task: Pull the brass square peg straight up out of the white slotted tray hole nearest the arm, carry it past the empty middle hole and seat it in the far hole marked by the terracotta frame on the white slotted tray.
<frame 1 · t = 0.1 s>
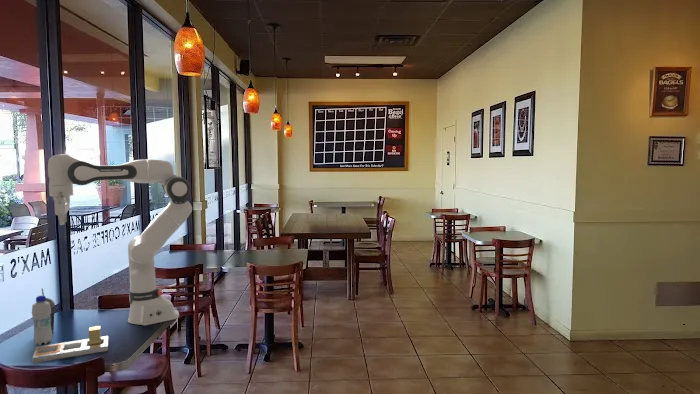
hand: (63, 223, 206), 48 cm above the table, tool pointing down, fingers open, 8 cm apart
brass peg: (95, 347, 191), resting in white slotted tray
bottle: (43, 343, 196), on the table
white slotted tray: (72, 351, 187), on the table
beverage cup: (47, 333, 206), on the table
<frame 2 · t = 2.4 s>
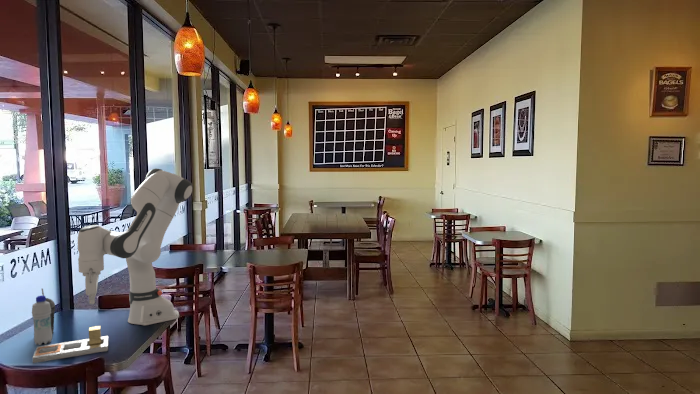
hand: (92, 300, 189), 19 cm above the table, tool pointing down, fingers open, 8 cm apart
nothing on the table moved.
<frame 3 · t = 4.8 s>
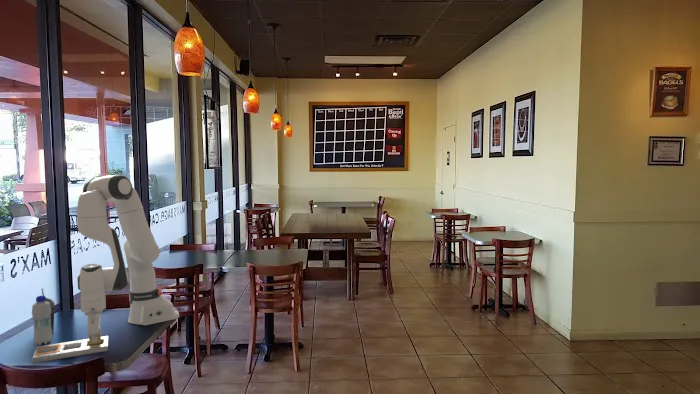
hand: (95, 338, 191), 4 cm above the table, tool pointing down, fingers closed on brass peg, 4 cm apart
brass peg: (95, 347, 191), resting in white slotted tray, touching gripper
everything else where it was.
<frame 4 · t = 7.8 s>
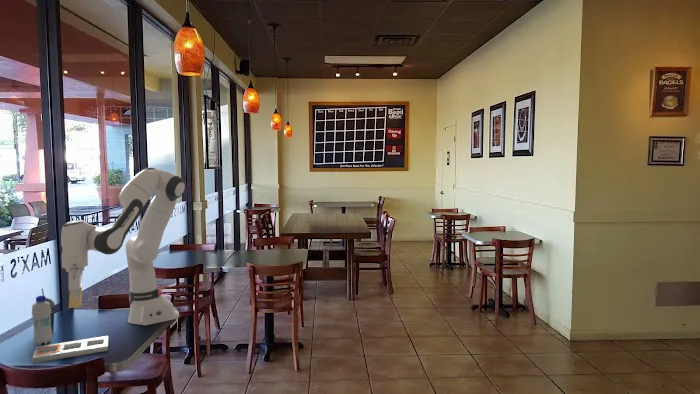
hand: (76, 296, 186), 22 cm above the table, tool pointing down, fingers closed on brass peg, 4 cm apart
brass peg: (74, 306, 186), point 18 cm above the table, tilted 6°, touching gripper
everything else where it was.
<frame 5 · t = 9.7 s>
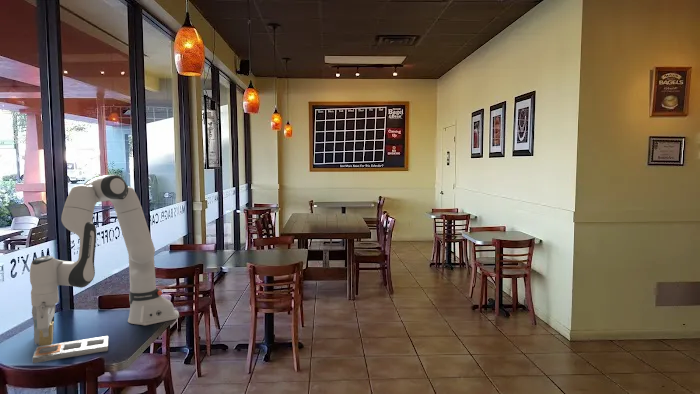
hand: (47, 333, 183), 8 cm above the table, tool pointing down, fingers closed on brass peg, 4 cm apart
brass peg: (46, 343, 183), point 5 cm above the table, touching gripper
everything else where it was.
when the fingers open (5 cm above the table, at t = 11.2 s): brass peg stays where it is, resting in white slotted tray.
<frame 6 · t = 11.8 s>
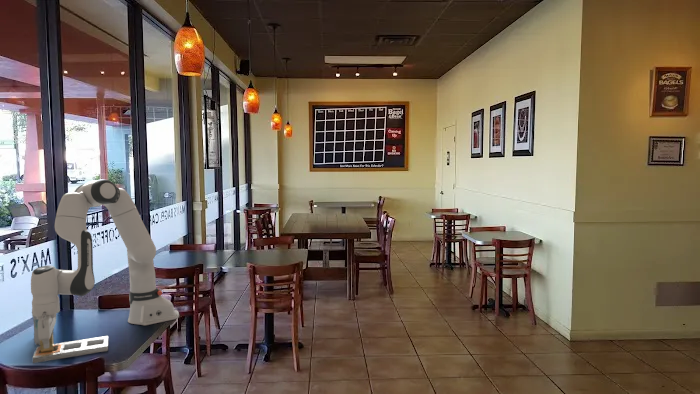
hand: (48, 343, 184), 5 cm above the table, tool pointing down, fingers open, 8 cm apart
brass peg: (47, 355, 184), resting in white slotted tray
everything else where it was.
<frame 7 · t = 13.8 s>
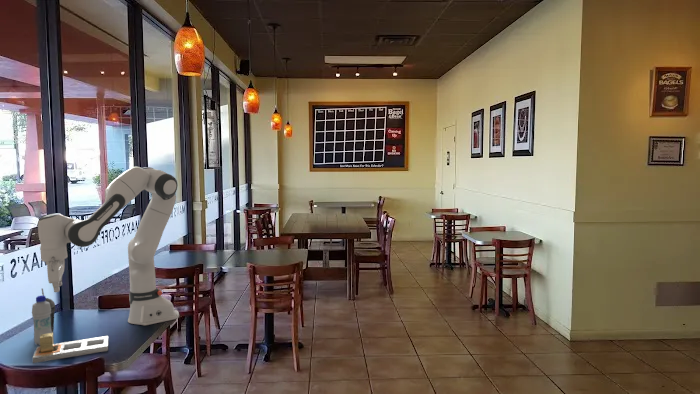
hand: (58, 288, 189), 24 cm above the table, tool pointing down, fingers open, 8 cm apart
nothing on the table moved.
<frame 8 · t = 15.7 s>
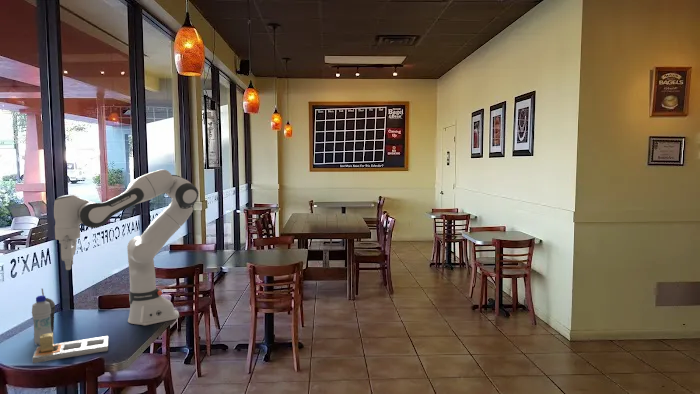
hand: (69, 267, 196), 31 cm above the table, tool pointing down, fingers open, 8 cm apart
nothing on the table moved.
at the end: brass peg 0.4 cm from the target spot on the white slotted tray, point 0.0 cm above the white slotted tray's base; brass peg tilted 0°; the gripper is holding nothing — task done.
